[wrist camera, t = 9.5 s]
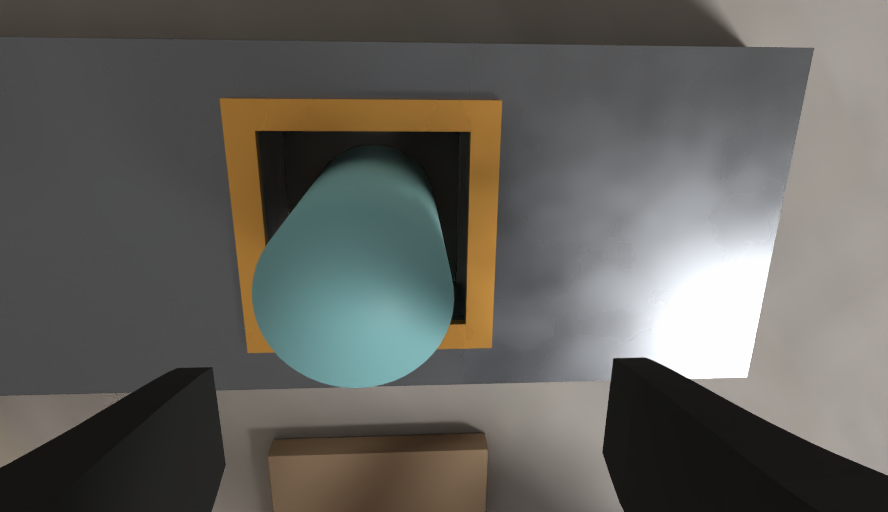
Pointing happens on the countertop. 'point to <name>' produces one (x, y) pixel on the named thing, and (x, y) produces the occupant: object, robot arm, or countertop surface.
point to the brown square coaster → (380, 473)
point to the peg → (357, 273)
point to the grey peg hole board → (479, 201)
